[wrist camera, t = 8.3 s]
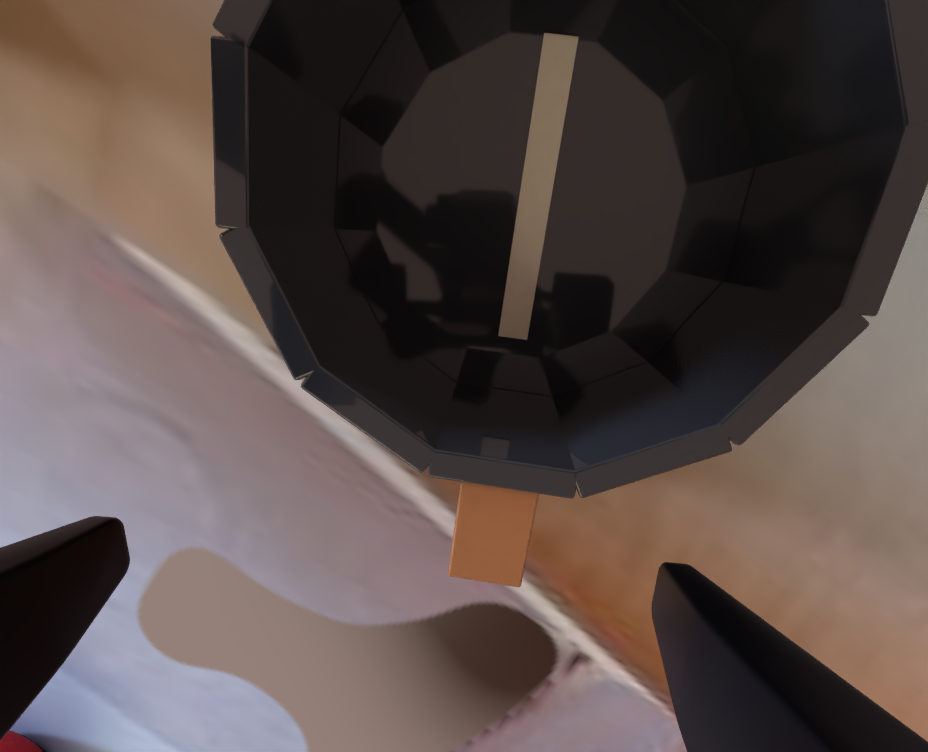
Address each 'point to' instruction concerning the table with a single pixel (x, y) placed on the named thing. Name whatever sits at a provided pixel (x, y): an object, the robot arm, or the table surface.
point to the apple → (17, 743)
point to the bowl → (564, 222)
